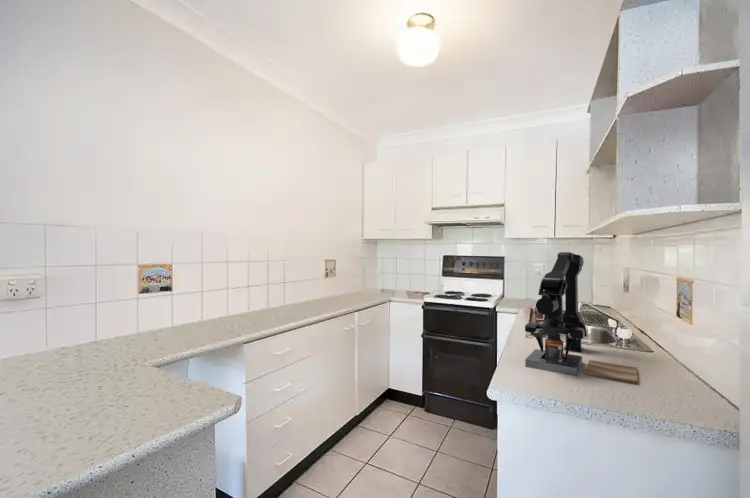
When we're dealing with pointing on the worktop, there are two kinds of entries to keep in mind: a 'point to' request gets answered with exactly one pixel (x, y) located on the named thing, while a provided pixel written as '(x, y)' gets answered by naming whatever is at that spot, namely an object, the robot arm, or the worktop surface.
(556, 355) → the supplement bottle
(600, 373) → the walnut pad
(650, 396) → the worktop surface
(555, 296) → the robot arm
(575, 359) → the socket block
